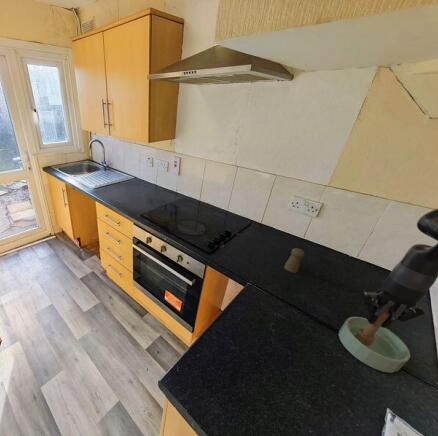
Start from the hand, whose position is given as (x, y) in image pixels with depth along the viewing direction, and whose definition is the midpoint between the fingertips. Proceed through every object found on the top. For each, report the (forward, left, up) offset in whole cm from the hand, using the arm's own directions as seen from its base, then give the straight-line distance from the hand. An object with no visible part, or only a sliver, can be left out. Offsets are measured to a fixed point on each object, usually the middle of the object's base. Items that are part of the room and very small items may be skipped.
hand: (375, 323), depth 69 cm
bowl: (-2, 0, -11) cm, 11 cm away
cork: (+16, -36, -11) cm, 41 cm away
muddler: (0, 0, -8) cm, 8 cm away
